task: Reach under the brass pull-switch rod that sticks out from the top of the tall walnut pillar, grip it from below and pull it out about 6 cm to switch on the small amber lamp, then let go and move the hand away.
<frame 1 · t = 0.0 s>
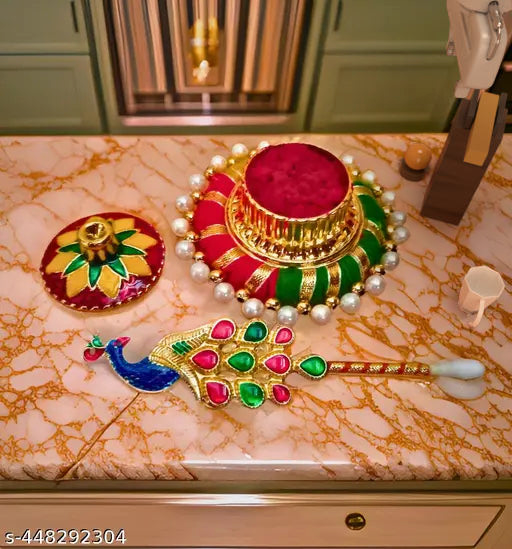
hand: (455, 73, 85), 38 cm above the worktop, tool pointing down, fingers open, 8 cm apart
night lamp: (412, 171, 126), on the worktop
pull rod: (481, 127, 97), point 26 cm above the worktop, slide at 0.0 cm
switch pillar: (441, 206, 120), on the worktop
cup: (468, 312, 107), on the worktop
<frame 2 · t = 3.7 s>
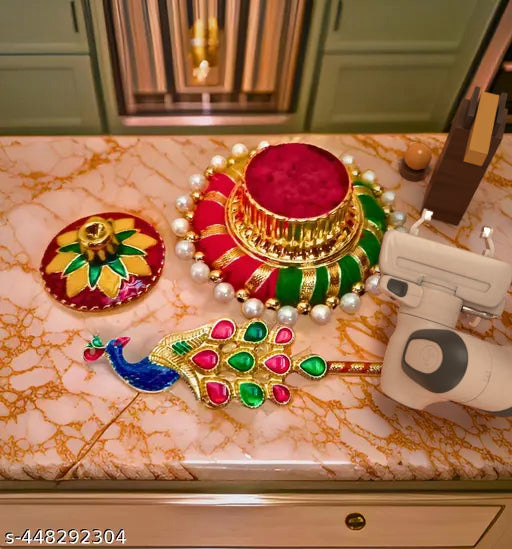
hand: (458, 218, 90), 22 cm above the worktop, tool pointing upward, fingers open, 8 cm apart
nothing on the worktop moved.
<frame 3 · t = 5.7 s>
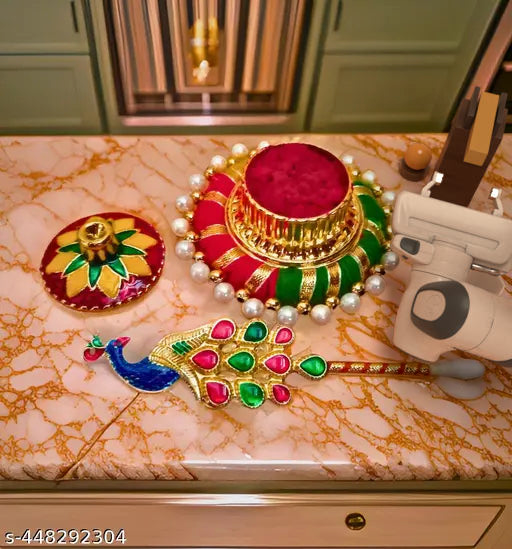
hand: (467, 180, 94), 23 cm above the worktop, tool pointing upward, fingers open, 8 cm apart
nothing on the worktop moved.
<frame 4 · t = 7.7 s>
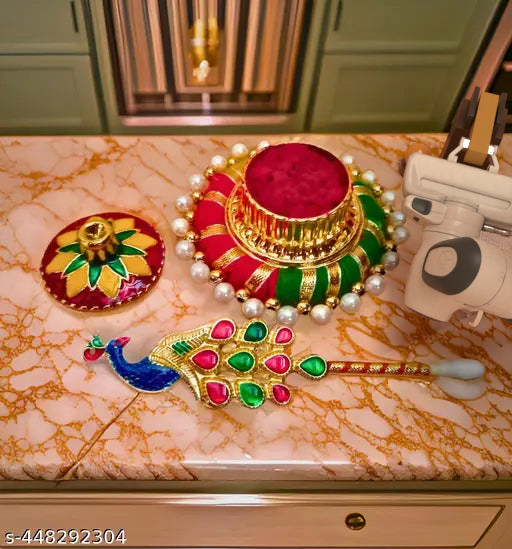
hand: (479, 142, 94), 26 cm above the worktop, tool pointing upward, fingers closed on pull rod, 3 cm apart
pull rod: (481, 127, 97), point 26 cm above the worktop, slide at 0.0 cm, touching gripper
everything else where it was.
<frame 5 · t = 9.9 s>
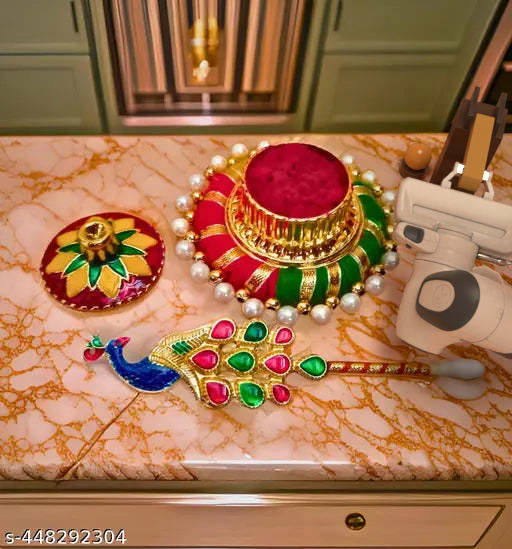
hand: (473, 167, 91), 26 cm above the worktop, tool pointing upward, fingers closed on pull rod, 3 cm apart
pull rod: (476, 151, 93), point 26 cm above the worktop, slide at 6.0 cm, touching gripper
everything else where it was.
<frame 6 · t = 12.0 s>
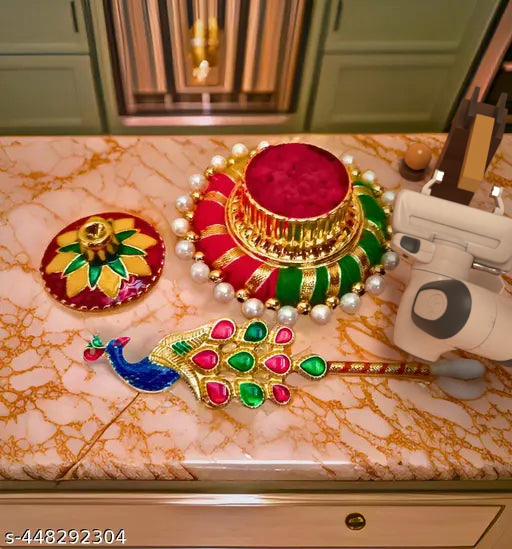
hand: (468, 178, 93), 23 cm above the worktop, tool pointing upward, fingers open, 8 cm apart
pull rod: (476, 152, 93), point 26 cm above the worktop, slide at 6.1 cm
everything else where it was.
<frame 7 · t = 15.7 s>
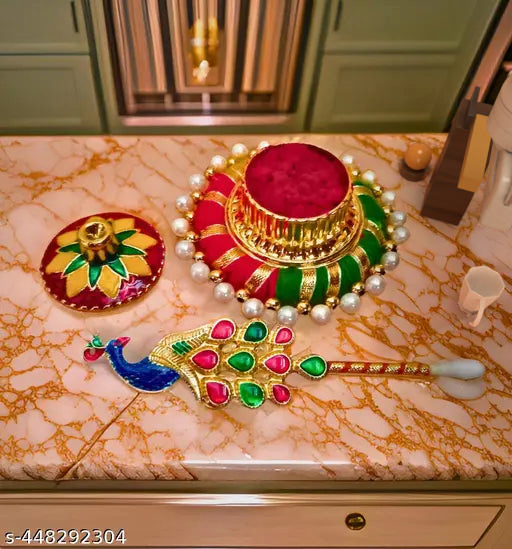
hand: (488, 198, 79), 33 cm above the worktop, tool pointing down, fingers open, 8 cm apart
nothing on the worktop moved.
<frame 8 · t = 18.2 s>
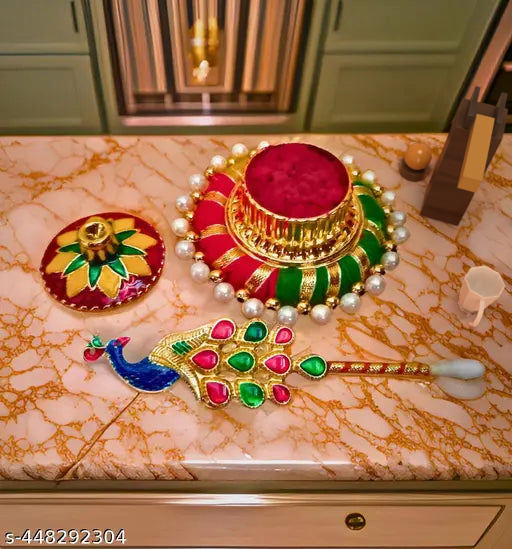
nothing on the worktop moved.
at the end: pull rod slide at 6.1 cm; night lamp moved 0.0 cm from its start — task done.
